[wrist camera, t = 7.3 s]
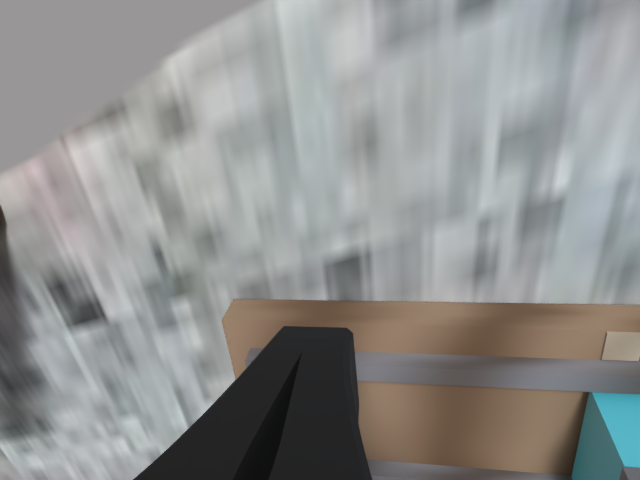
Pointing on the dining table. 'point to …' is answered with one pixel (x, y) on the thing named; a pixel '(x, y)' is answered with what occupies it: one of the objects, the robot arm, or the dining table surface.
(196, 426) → the robot arm
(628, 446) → the fader tab
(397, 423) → the fader console
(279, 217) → the dining table surface
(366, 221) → the dining table surface
